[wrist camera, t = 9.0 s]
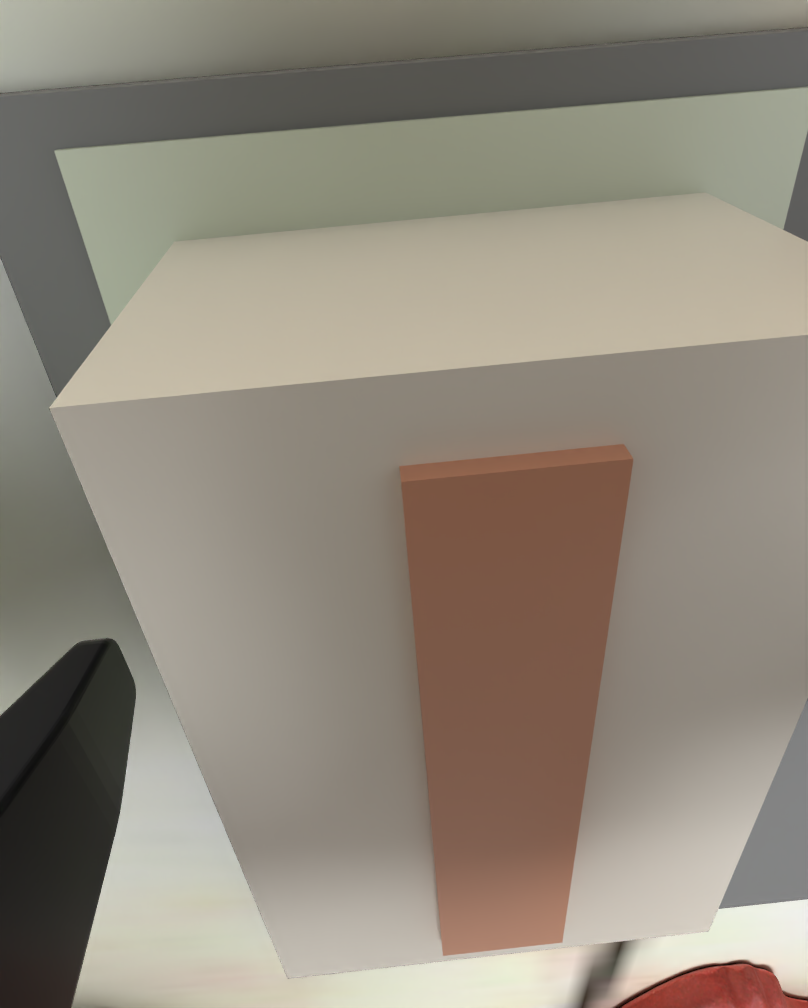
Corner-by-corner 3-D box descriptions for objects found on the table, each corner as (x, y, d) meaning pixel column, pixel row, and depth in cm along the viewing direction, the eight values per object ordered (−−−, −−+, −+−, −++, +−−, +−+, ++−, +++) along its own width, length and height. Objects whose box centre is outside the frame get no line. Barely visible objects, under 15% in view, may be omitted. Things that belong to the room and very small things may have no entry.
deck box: (705, 192, 8) (991, 329, 4) (617, 702, 13) (714, 946, 10) (173, 241, 8) (36, 422, 4) (301, 735, 13) (286, 994, 9)
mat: (1056, 848, 19) (1078, 873, 19) (281, 932, 19) (280, 960, 18) (1923, -65, 8) (2046, -70, 7) (-35, 95, 7) (-67, 102, 7)
